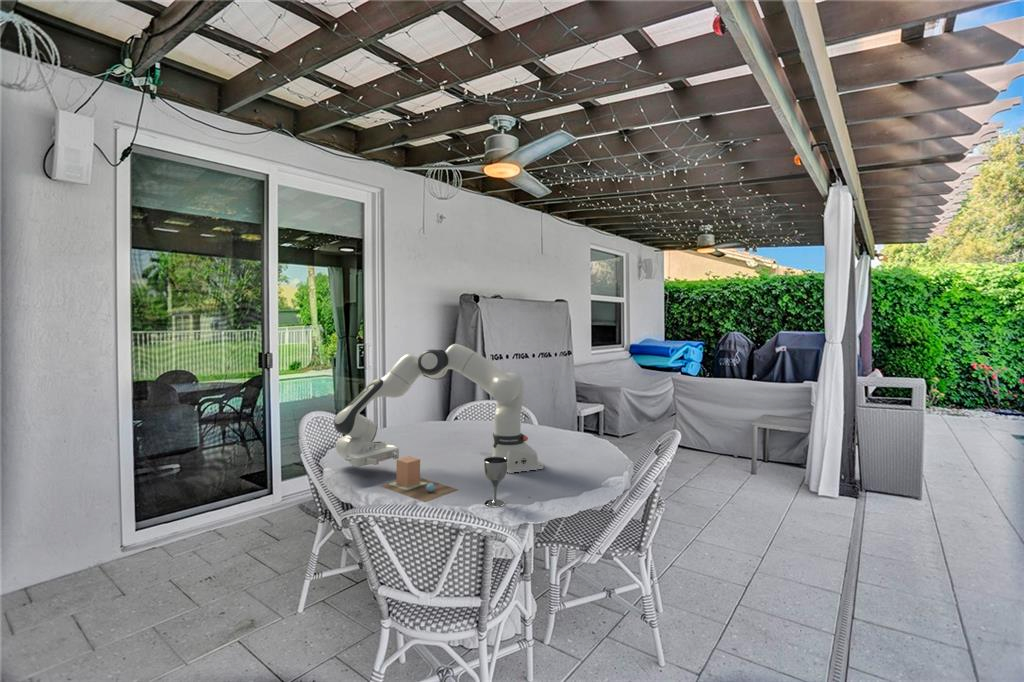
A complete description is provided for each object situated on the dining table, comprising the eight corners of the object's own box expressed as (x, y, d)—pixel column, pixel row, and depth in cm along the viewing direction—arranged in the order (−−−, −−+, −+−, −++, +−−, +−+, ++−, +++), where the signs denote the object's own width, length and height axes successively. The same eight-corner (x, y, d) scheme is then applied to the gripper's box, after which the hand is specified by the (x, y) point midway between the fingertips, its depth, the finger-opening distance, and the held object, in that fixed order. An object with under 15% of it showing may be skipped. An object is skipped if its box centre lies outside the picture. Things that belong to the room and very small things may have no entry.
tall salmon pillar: (409, 479, 194) (409, 456, 193) (419, 483, 190) (420, 459, 189) (396, 483, 189) (396, 459, 188) (407, 487, 185) (407, 462, 185)
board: (458, 492, 185) (458, 489, 185) (425, 504, 172) (425, 501, 172) (413, 478, 199) (413, 475, 199) (380, 488, 187) (380, 485, 187)
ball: (434, 489, 184) (434, 481, 184) (435, 492, 181) (435, 484, 181) (426, 490, 183) (426, 482, 183) (426, 493, 180) (426, 484, 180)
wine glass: (507, 507, 171) (508, 463, 170) (483, 508, 170) (484, 463, 170) (506, 499, 179) (506, 456, 178) (483, 499, 178) (483, 456, 178)
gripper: (342, 450, 196) (364, 457, 188) (385, 440, 212) (408, 446, 204) (342, 466, 197) (364, 474, 188) (385, 455, 213) (407, 462, 204)
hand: (387, 459), depth 196 cm, fingers open, 8 cm apart
